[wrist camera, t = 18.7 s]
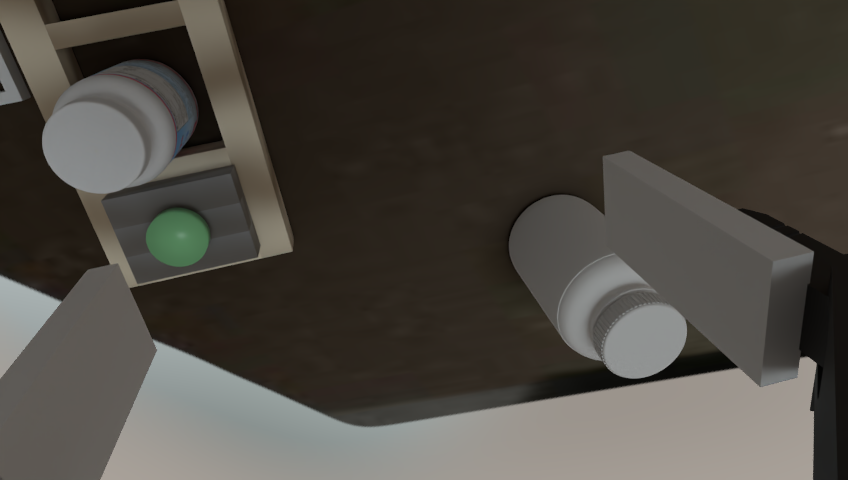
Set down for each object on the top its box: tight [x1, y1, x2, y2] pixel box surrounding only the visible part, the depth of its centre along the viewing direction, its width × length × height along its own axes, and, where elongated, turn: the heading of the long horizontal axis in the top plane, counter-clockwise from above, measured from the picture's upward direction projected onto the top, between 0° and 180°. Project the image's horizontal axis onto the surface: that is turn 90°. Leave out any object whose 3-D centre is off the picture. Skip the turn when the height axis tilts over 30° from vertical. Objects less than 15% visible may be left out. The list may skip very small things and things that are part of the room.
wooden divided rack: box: [0, 0, 294, 288], centre depth 36 cm, size 26×12×4 cm, turn 10°
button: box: [146, 208, 210, 267], centre depth 37 cm, size 4×4×3 cm
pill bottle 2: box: [509, 195, 687, 378], centre depth 41 cm, size 8×8×15 cm
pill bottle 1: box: [42, 59, 198, 194], centre depth 33 cm, size 6×6×11 cm
